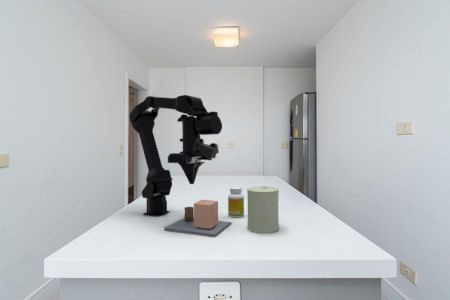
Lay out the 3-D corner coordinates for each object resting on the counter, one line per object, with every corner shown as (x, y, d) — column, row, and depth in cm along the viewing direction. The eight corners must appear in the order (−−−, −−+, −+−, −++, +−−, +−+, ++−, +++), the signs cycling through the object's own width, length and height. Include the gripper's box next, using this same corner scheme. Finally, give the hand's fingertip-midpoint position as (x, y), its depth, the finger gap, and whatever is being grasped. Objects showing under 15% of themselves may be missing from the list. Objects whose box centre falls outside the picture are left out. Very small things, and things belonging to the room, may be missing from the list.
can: (281, 225, 80) (280, 185, 79) (276, 234, 71) (276, 190, 71) (251, 222, 83) (251, 184, 82) (243, 231, 74) (243, 189, 74)
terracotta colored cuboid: (194, 226, 75) (193, 203, 74) (202, 221, 79) (202, 199, 79) (210, 228, 73) (210, 205, 72) (218, 223, 77) (217, 201, 77)
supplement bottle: (242, 218, 87) (242, 189, 87) (226, 217, 88) (226, 188, 88) (244, 214, 93) (244, 186, 92) (229, 213, 94) (229, 186, 94)
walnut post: (182, 221, 82) (182, 208, 82) (187, 218, 84) (187, 206, 84) (190, 222, 81) (190, 209, 81) (195, 219, 83) (195, 207, 83)
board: (164, 230, 75) (164, 227, 75) (185, 219, 87) (185, 217, 87) (214, 237, 69) (214, 234, 69) (231, 224, 80) (231, 222, 80)
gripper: (200, 133, 72) (200, 190, 73) (225, 135, 90) (226, 181, 90) (166, 134, 77) (166, 187, 77) (196, 136, 94) (197, 180, 94)
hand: (191, 184), depth 84 cm, fingers closed
